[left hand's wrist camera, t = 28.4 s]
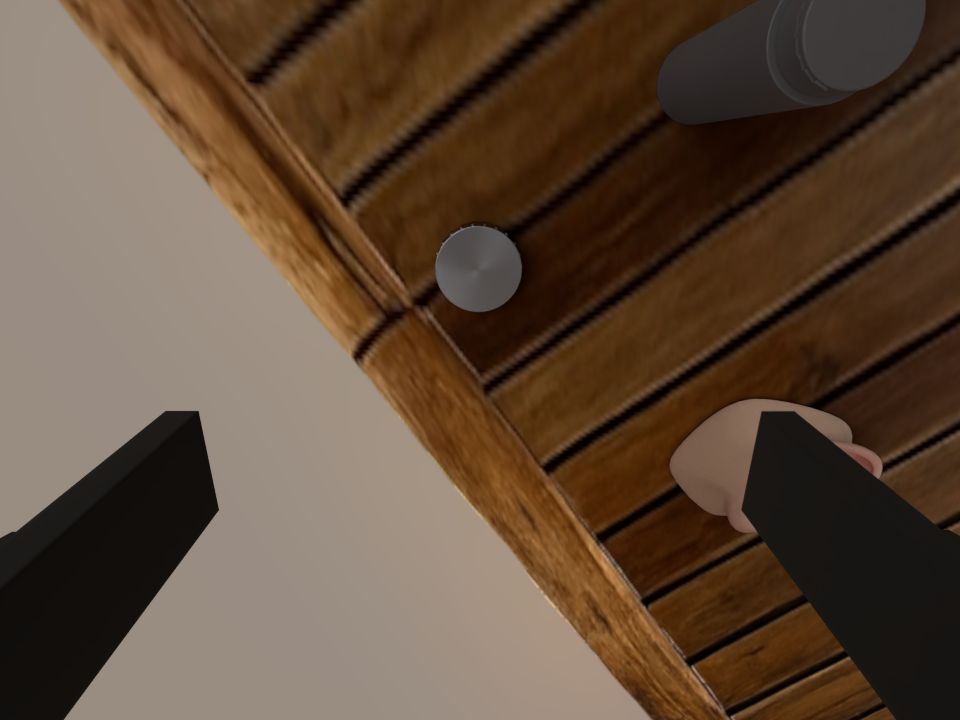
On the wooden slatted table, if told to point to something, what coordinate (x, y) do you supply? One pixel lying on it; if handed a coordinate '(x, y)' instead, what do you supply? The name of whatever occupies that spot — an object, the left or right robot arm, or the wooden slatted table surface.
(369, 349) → the wooden slatted table surface
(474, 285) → the lid
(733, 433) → the anatomical model
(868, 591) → the left robot arm
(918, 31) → the dark grey cylinder
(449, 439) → the wooden slatted table surface
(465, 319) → the wooden slatted table surface
